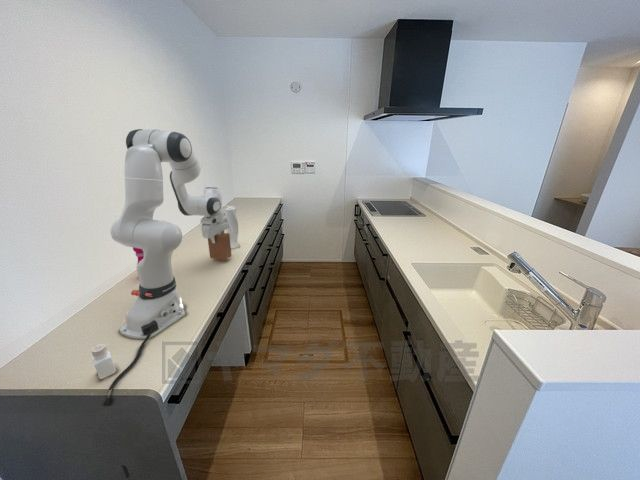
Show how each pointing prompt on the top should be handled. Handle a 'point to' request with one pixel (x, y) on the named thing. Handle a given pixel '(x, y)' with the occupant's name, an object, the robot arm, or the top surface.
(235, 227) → the white baluster column
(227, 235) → the reddish brown block
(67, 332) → the top surface
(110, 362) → the pepper shaker
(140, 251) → the pepper mill
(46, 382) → the top surface
